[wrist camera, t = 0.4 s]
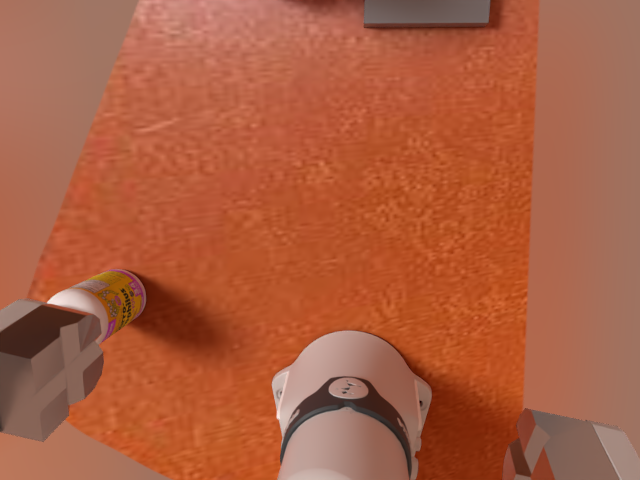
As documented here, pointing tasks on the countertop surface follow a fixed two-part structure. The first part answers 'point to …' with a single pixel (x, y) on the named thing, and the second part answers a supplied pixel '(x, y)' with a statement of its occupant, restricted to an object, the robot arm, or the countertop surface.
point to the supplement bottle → (106, 299)
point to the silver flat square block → (426, 13)
